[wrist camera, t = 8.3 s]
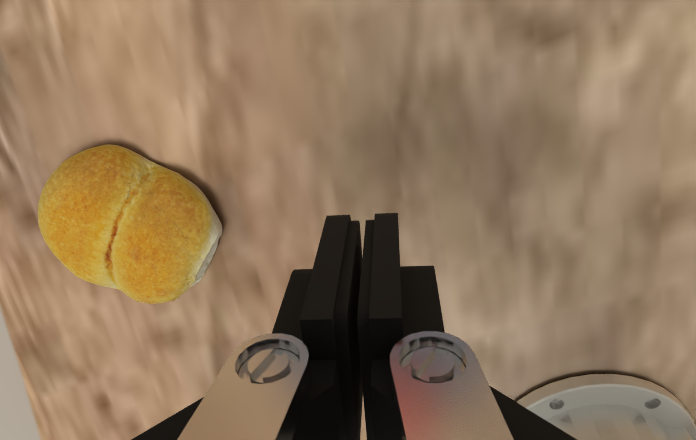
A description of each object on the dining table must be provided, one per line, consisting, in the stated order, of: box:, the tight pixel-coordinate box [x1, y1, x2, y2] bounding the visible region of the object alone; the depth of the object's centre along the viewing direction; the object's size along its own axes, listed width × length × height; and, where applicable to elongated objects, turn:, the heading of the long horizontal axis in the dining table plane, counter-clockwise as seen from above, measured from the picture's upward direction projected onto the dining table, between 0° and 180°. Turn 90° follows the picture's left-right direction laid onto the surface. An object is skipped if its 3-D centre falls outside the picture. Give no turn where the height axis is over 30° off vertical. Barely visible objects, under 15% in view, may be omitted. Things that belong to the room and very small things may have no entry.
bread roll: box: [38, 144, 222, 304], centre depth 25 cm, size 8×9×4 cm
